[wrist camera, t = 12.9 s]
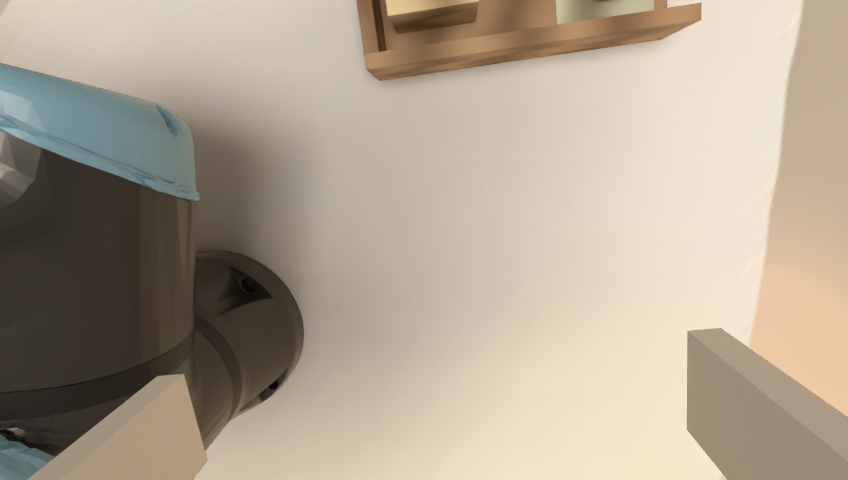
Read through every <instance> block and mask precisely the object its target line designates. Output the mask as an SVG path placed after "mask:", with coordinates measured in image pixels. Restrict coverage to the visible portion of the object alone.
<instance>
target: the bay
mask: <svg viewBox="0 0 848 480" xmlns="http://www.w3.org/2000/svg"><path fill="white" fill-rule="evenodd" d="M357 7H358V13H359V20H360V27H361V34H362V41H363V47H364V54H365V61H366V68H367V70H368V71H369V72H370V73H372V74H373V75H374V76H375V77H376V78H378V79H379V80H387V79H393V78H400V77H407V76H414V75H421V74H428V73H434V72H441V71H448V70H455V69H462V68H469V67H476V66H482V65H489V64H496V63H503V62H510V61H517V60H523V59H530V58H537V57H544V56H551V55H558V54H565V53H571V52H578V51H585V50H592V49H599V48H606V47H612V46H619V45H626V44H633V43H640V42H647V41H654V40H660V39H663V38H665V37H667V36H669V35H671V34H673V33H675V32H677V31H679V30H681V29H683V28H685V27H687V26H689V25H691V24H693V23H695V22H698V21H700V20H701V3H697V4H690V5H684V6H677V7H671V8H667V0H357Z"/></svg>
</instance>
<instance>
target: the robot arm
mask: <svg viewBox="0 0 848 480" xmlns="http://www.w3.org/2000/svg"><path fill="white" fill-rule="evenodd" d="M199 198H200V192H199V191H198V190H197V189H196V177H195V158H194V141H193V136H192V133H191V131H190V129H189V127H188V125H187V124H186V122H185V121H184V120H183V119H182V118H181V117H180V116H179V115H178V114H177V113H175V112H174V111H172V110H170V109H168V108H166V107H164V106H162V105H159V104H156V103H153V102H149V101H146V100H143V99H139V98H135V97H132V96H128V95H124V94H121V93H117V92H113V91H109V90H106V89H102V88H98V87H94V86H90V85H86V84H82V83H78V82H75V81H71V80H67V79H63V78H59V77H55V76H51V75H47V74H43V73H39V72H35V71H31V70H27V69H23V68H18V67H14V66H10V65H6V64H2V63H0V480H193V479H194V477H195V476H196V475H197V474H198V472H199V471H200V470H201V468H202V467H203V466H204V464H205V463H206V462H207V461H208V460H207V457H206V453H205V451H206V450H207V448H208V447H209V446H210V444H211V443H212V442H213V441H214V439H215V438H216V437H217V436H218V434H219V433H220V432H221V431H222V429H223V428H224V427H225V425H226V424H227V423H228V422H229V421H230V420H231V419H233V418H235V417H237V416H239V415H240V414H242V413H244V412H246V411H248V410H249V409H251V408H253V407H255V406H257V405H258V404H260V403H262V402H263V401H265V400H267V399H268V398H269V397H271V396H272V395H273V394H274V393H275V392H276V391H277V390H278V389H279V388H280V387H281V386H282V385H283V383H284V382H285V381H286V379H287V378H288V376H289V375H290V374H291V372H292V371H293V369H294V368H295V366H296V364H297V362H298V359H299V357H300V354H301V350H302V345H303V325H302V320H301V316H300V312H299V309H298V307H297V304H296V302H295V300H294V298H293V297H292V295H291V293H290V292H289V290H288V289H287V287H286V286H285V285H284V284H283V283H282V281H281V280H280V279H279V278H278V277H277V276H276V275H275V274H273V273H272V272H271V271H270V270H269V269H267V268H266V267H264V266H263V265H261V264H260V263H258V262H256V261H254V260H252V259H250V258H247V257H245V256H242V255H239V254H235V253H231V252H224V251H206V252H200V253H196V201H199ZM687 430H688V431H689V433H690V434H691V435H692V436H693V438H694V439H695V440H696V441H697V443H698V444H699V445H700V446H701V447H702V449H703V450H704V451H705V452H706V454H707V455H708V456H709V457H710V459H711V460H712V461H713V462H714V463H715V465H716V466H717V467H718V468H719V470H720V471H721V472H722V473H723V475H724V476H725V477H726V478H727V480H848V417H847V416H845V415H844V414H843V413H841V412H840V411H838V410H837V409H835V408H834V407H833V406H831V405H830V404H828V403H827V402H825V401H824V400H823V399H821V398H820V397H818V396H817V395H815V394H814V393H813V392H811V391H810V390H808V389H807V388H805V387H804V386H802V385H801V384H799V383H798V382H797V381H795V380H794V379H793V378H791V377H790V376H788V375H787V374H785V373H784V372H782V371H781V370H780V369H778V368H777V367H775V366H774V365H772V364H771V363H770V362H768V361H767V360H765V359H764V358H763V357H761V356H760V355H758V354H757V353H755V352H754V351H753V350H751V349H750V348H748V347H747V346H745V345H744V344H743V343H741V342H740V341H738V340H737V339H735V338H734V337H733V336H731V335H730V334H728V333H727V332H725V331H724V330H723V329H721V328H716V329H705V330H693V331H688V343H687Z"/></svg>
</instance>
